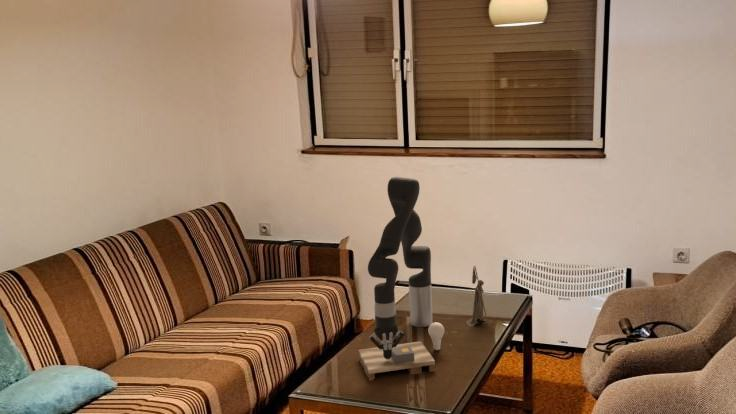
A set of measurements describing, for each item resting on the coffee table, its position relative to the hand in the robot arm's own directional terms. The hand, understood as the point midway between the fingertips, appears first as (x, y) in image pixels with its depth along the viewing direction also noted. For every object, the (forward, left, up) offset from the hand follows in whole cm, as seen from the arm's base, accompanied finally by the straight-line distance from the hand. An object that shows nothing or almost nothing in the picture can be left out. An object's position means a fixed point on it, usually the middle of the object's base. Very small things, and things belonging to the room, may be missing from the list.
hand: (387, 358), depth 255 cm
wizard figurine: (-33, +46, -5) cm, 57 cm away
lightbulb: (-12, +22, -5) cm, 25 cm away
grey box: (0, +6, -1) cm, 6 cm away
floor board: (-4, +4, -5) cm, 7 cm away
